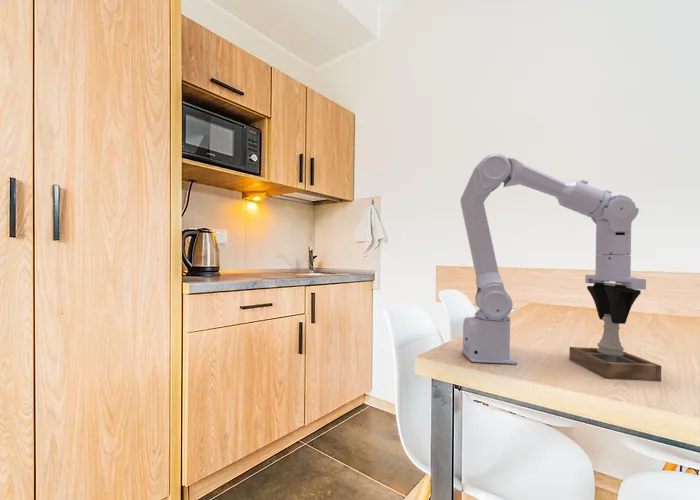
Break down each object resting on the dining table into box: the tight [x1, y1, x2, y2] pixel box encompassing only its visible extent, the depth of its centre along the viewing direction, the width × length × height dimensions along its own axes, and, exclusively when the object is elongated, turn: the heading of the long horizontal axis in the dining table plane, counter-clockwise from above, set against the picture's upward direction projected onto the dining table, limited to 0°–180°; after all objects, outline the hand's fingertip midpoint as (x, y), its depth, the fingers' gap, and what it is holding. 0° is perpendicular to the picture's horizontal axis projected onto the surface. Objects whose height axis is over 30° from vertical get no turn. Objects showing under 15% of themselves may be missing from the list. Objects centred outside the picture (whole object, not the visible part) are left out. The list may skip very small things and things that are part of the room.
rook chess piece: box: [596, 314, 624, 357], centre depth 69 cm, size 4×4×8 cm
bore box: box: [568, 346, 662, 382], centre depth 69 cm, size 10×12×3 cm
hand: (611, 321), depth 69 cm, fingers closed on rook chess piece, 3 cm apart
